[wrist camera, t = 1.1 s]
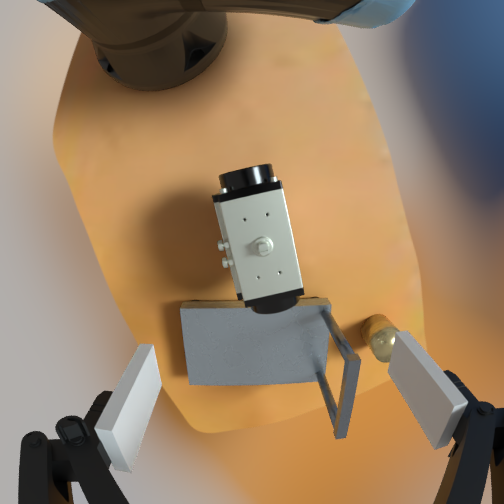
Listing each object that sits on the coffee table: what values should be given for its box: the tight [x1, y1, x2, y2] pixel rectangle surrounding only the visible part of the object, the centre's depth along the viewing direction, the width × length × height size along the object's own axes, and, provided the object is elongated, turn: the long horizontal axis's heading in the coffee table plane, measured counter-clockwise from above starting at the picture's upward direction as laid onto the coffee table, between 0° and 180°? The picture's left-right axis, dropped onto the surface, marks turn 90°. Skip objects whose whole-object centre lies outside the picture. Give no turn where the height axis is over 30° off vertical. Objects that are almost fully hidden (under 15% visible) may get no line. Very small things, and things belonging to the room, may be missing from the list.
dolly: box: [180, 297, 361, 439], centre depth 30 cm, size 10×16×14 cm, turn 91°
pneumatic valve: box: [212, 164, 304, 314], centre depth 28 cm, size 6×12×12 cm, turn 13°
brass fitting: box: [361, 314, 400, 362], centre depth 35 cm, size 4×4×5 cm
